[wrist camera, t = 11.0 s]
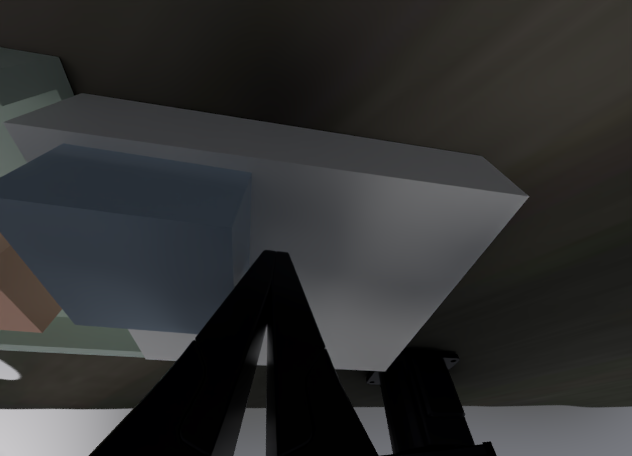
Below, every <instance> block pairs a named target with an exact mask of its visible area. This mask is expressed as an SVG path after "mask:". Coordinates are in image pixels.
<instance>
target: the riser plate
mask: <svg viewBox="0 0 632 456" xmlns="http://www.w3.org/2000/svg"><path fill="white" fill-rule="evenodd" d="M3 124H4V126H5V127H6V129H7V131H8V132H9V134H10V136H11V137H12V139H13V140H14V142H15V144H16V145H17V147H18V149H19V150H20V152H21V154H22V155H23V157H24V159H25V160H26V162H27V163H28V162H30V161H32V160H33V159H35V158H37V157H39V156H41V155H43V154H44V153H46V152H48V151H50V150H52V149H54V148H55V147H57V146H59V145H61V144H63V143H64V144H71V145H77V146H83V147H90V148H96V149H103V150H109V151H116V152H122V153H129V154H135V155H142V156H148V157H155V158H161V159H167V160H174V161H180V162H187V163H193V164H199V165H206V166H212V167H219V168H225V169H231V170H238V171H244V172H251V173H252V188H251V225H250V261H249V268H250V267H251V266H252V264H253V263H254V262H255V261H256V259H257V258H258V257H259V255H260V254H261V253H262V252H263V251H264V250H273V251H282V252H288V253H289V255H290V257H291V260H292V262H293V265H294V267H295V270H296V272H297V275H298V277H299V280H300V283H301V285H302V288H303V290H304V293H305V295H306V298H307V300H308V303H309V305H310V308H311V311H312V313H313V316H314V318H315V321H316V323H317V326H318V328H319V331H320V333H321V336H322V339H323V341H324V344H325V346H326V347H325V349H327V351H328V353H329V356H330V358H331V361H332V363H333V366H334V368H335V369H347V370H367V371H386V370H387V369H388V367H389V366H390V365H391V364H392V362H393V361H394V360H395V359H396V358H397V356H398V355H399V354H400V353H401V352H402V350H403V349H404V348H405V347H406V345H407V344H408V343H409V342H410V341H411V339H412V338H413V337H414V336H415V335H416V333H417V332H418V331H419V330H420V328H421V327H422V326H423V325H424V324H425V322H426V321H427V320H428V319H429V318H430V316H431V315H432V314H433V313H434V311H435V310H436V309H437V308H438V307H439V305H440V304H441V303H442V302H443V301H444V299H445V298H446V297H447V296H448V295H449V293H450V292H451V291H452V290H453V288H454V287H455V286H456V285H457V284H458V282H459V281H460V280H461V279H462V278H463V276H464V275H465V274H466V273H467V271H468V270H469V269H470V268H471V267H472V265H473V264H474V263H475V262H476V261H477V259H478V258H479V257H480V256H481V254H482V253H483V252H484V251H485V250H486V248H487V247H488V246H489V245H490V244H491V242H492V241H493V240H494V239H495V237H496V236H497V235H498V234H499V233H500V231H501V230H502V229H503V228H504V227H505V225H506V224H507V223H508V222H509V220H510V219H511V218H512V217H513V216H514V214H515V213H516V212H517V211H518V210H519V208H520V207H521V206H522V205H523V203H524V202H525V201H526V200H527V199H528V197H529V196H528V195H527V194H526V193H524V192H523V191H522V190H521V189H520V188H519V187H517V186H516V185H515V184H514V183H513V182H512V181H510V180H509V179H508V178H507V177H506V176H505V175H503V174H502V173H501V172H500V171H499V170H498V169H496V168H495V167H494V166H493V165H492V164H491V163H489V162H488V161H487V160H486V159H485V158H484V157H483V156H479V155H473V154H466V153H460V152H453V151H447V150H441V149H434V148H428V147H422V146H415V145H409V144H403V143H396V142H390V141H384V140H377V139H371V138H365V137H358V136H352V135H346V134H339V133H333V132H327V131H320V130H314V129H308V128H301V127H295V126H288V125H282V124H276V123H269V122H263V121H257V120H250V119H244V118H238V117H231V116H225V115H219V114H212V113H206V112H200V111H193V110H187V109H181V108H174V107H168V106H162V105H155V104H149V103H143V102H136V101H130V100H123V99H117V98H111V97H104V96H98V95H92V94H85V93H81V94H78V95H75V96H73V97H70V98H67V99H64V100H62V101H59V102H56V103H54V104H51V105H48V106H45V107H43V108H40V109H37V110H34V111H32V112H29V113H26V114H23V115H21V116H18V117H15V118H13V119H10V120H7V121H4V122H3ZM128 331H129V332H130V334H131V335H132V337H133V339H134V340H135V342H136V344H137V345H138V347H139V349H140V350H141V352H142V354H143V355H144V357H145V359H151V360H170V361H177V359H178V358H179V357H180V356H181V355H182V353H183V352H184V351H185V350H186V348H187V347H188V346H189V345H190V343H191V342H192V341H193V340H195V337H196V336H197V335H198V334H187V333H174V332H161V331H148V330H135V329H128ZM195 341H196V340H195ZM257 365H267V327H266V331H265V335H264V339H263V343H262V347H261V351H260V354H259V358H258V362H257Z"/></svg>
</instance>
